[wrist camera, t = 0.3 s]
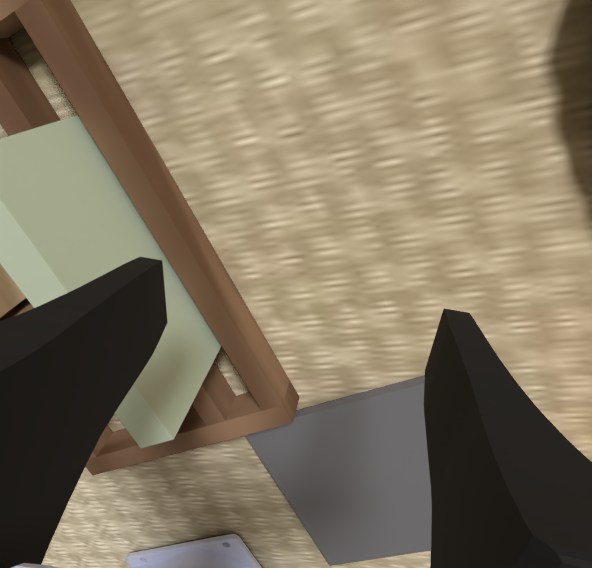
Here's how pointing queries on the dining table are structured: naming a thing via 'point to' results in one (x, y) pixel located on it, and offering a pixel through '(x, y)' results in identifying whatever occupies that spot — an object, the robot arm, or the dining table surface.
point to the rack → (160, 220)
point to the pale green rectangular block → (96, 260)
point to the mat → (357, 472)
